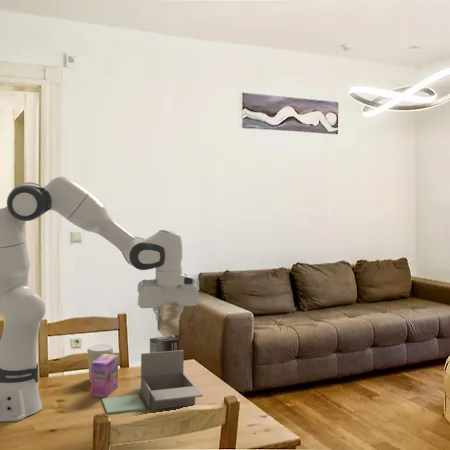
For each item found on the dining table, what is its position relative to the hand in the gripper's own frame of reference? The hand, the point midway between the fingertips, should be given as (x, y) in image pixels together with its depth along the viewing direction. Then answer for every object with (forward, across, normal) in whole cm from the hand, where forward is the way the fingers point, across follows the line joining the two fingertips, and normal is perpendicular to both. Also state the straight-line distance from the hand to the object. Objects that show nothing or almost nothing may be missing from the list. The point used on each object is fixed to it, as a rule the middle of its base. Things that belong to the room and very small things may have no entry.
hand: (168, 319), depth 182 cm
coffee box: (+27, +3, +17) cm, 32 cm away
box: (+27, -19, +13) cm, 36 cm away
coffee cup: (+27, -19, +26) cm, 42 cm away
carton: (+27, 0, -4) cm, 27 cm away
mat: (+27, -15, -1) cm, 31 cm away
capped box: (+4, 0, 0) cm, 4 cm away
